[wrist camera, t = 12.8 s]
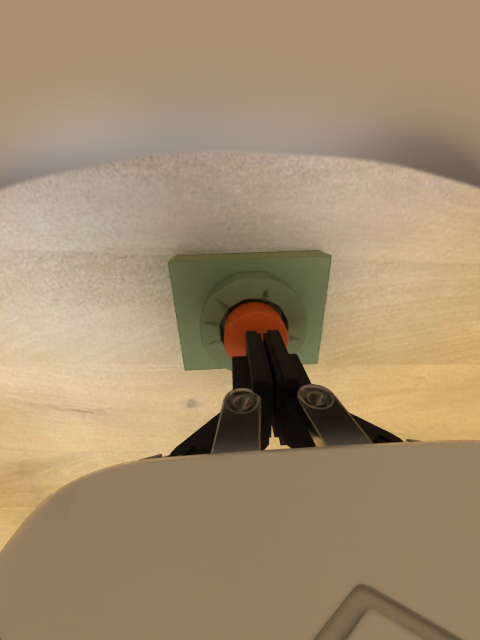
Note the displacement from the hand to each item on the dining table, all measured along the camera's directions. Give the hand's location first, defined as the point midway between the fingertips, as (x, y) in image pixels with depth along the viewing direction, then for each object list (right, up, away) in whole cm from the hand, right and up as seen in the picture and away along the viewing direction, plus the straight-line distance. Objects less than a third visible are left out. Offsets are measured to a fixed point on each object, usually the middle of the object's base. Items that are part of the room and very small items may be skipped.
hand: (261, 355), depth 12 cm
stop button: (0, +1, +3) cm, 3 cm away
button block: (0, +3, +6) cm, 7 cm away
